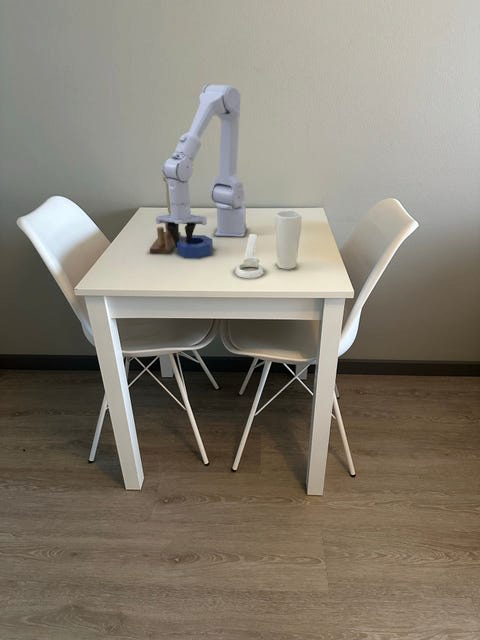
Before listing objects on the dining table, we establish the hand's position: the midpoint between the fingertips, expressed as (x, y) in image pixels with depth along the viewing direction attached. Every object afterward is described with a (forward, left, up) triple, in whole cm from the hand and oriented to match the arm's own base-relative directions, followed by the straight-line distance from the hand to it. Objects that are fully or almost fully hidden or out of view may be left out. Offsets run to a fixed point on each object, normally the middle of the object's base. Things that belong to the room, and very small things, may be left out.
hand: (183, 246), depth 141 cm
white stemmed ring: (-21, +14, -2) cm, 25 cm away
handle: (+11, -31, -2) cm, 33 cm away
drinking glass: (-31, +9, -2) cm, 32 cm away
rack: (+7, -5, -1) cm, 8 cm away
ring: (-4, 0, -1) cm, 4 cm away
